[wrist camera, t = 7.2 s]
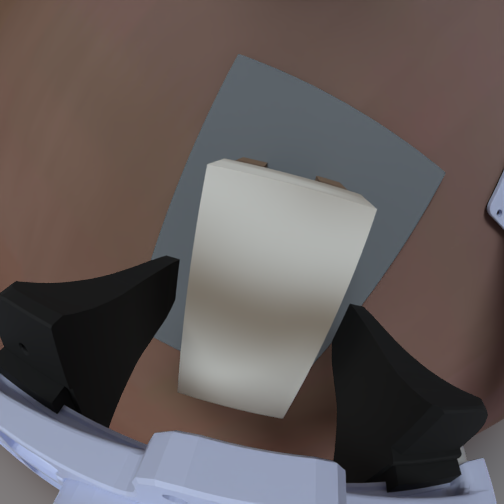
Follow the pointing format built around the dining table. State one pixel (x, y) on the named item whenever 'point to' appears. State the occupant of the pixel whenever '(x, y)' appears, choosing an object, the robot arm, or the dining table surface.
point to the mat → (300, 171)
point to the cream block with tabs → (265, 282)
